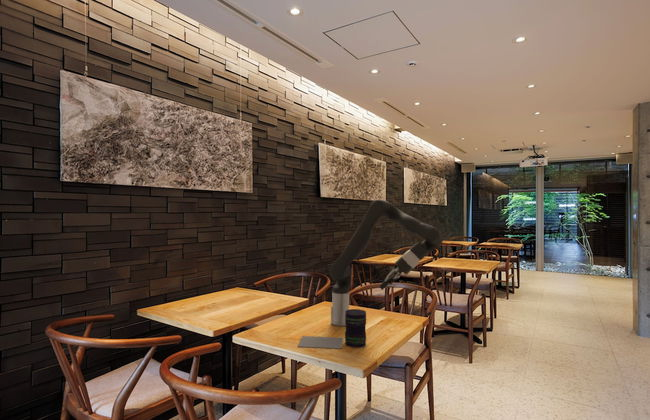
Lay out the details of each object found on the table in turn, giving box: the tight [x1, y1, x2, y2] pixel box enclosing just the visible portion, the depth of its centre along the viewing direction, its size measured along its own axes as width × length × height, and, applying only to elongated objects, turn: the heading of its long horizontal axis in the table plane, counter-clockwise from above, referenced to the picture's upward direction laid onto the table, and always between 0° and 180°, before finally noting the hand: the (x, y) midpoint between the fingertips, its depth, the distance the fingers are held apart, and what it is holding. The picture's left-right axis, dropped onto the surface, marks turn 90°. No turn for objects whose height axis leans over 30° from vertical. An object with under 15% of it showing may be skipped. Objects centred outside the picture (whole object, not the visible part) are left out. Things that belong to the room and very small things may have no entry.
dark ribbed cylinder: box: [344, 308, 367, 349], centre depth 172 cm, size 10×10×15 cm
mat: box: [297, 335, 344, 350], centre depth 173 cm, size 20×14×1 cm
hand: (380, 288), depth 171 cm, fingers closed
